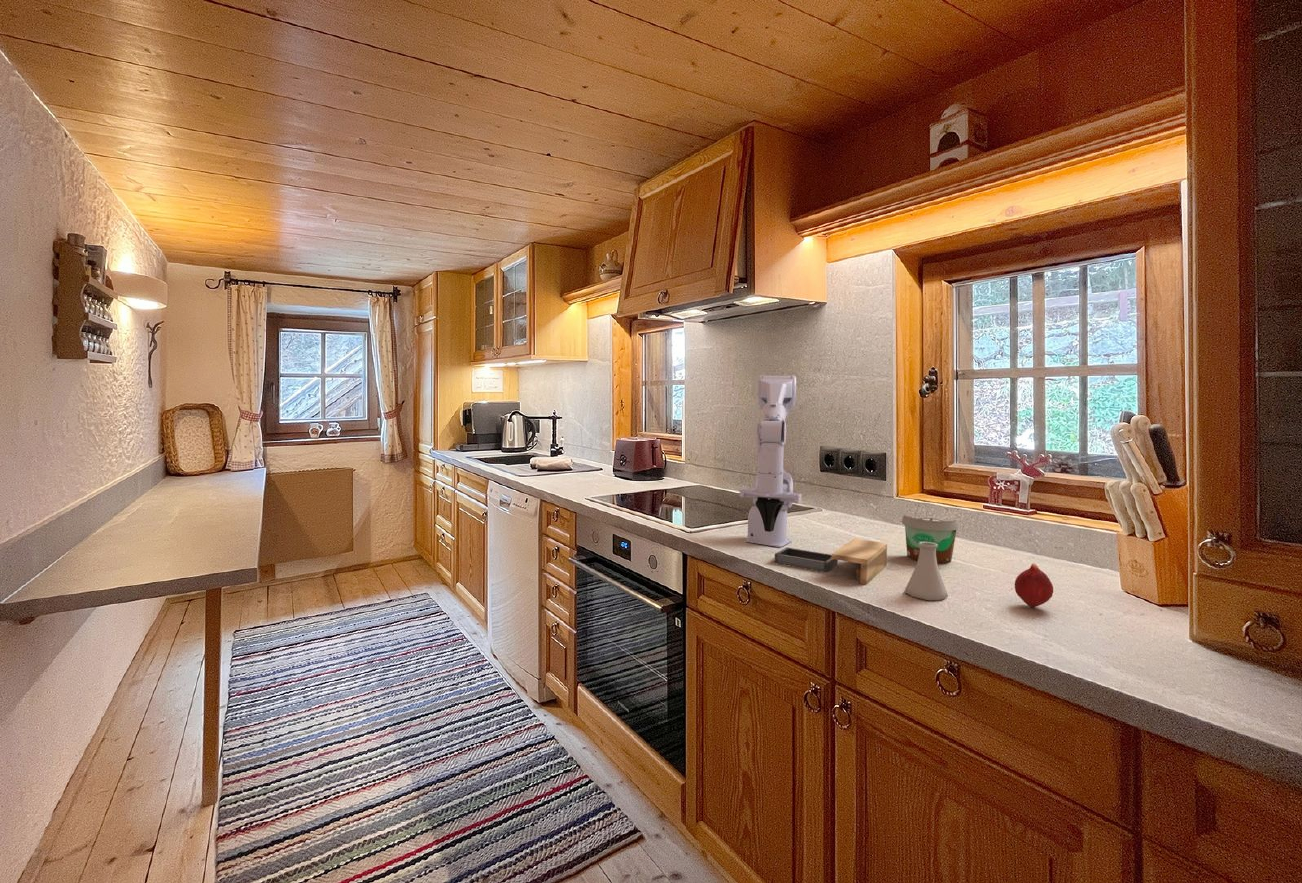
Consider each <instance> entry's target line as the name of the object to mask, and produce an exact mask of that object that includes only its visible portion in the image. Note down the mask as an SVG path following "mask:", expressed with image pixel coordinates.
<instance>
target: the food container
mask: <svg viewBox="0 0 1302 883" xmlns="http://www.w3.org/2000/svg"><path fill="white" fill-rule="evenodd" d="M901 523H902V525H904V531H905V546H906V557H907V558H908V559H909V560H912V561H913V562H914V561H915V562H918V558H919V554H920V546H919V545H918V543H920V542H932V543H935V544H938V547H937V548H936V560H937V565H948V564H950V563H951V562H952V560H953V559H952V558H953V554H954V547H955V541H956V536H957V530H959V529H961V524H960V521H959V518H957V519H955V520H954V519H953V520H941V519H936V518H931V517H923V518H915V517H911V516H908V515H906V514H905V513H904V514H903V516H902V519H901Z"/></svg>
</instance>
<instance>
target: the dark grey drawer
mask: <svg viewBox="0 0 1302 883" xmlns="http://www.w3.org/2000/svg"><path fill="white" fill-rule="evenodd" d="M831 555H832V553H824V552H818V551H817V552H816V551H813V550H807V549H806V550H804V549H799V548H793V547H787V546H786V547H785V548H783V549H781V550H780V551H777V552H775V553H774V564H776V563H777V564H778V565H782V564H785V565H784V566H787V565H790V566H789V567H793V566H794V568H798V567H799V569H800V568H801V569H804V568H807V569H806V570H810V569H813V570H812V571H815V570H817V572H821V571H822V572H821V573H829V572H830V571H832V570H833V569H834V568H835V567H837V566H839V565H838V564H839V563H838V562H839V560H836V559H831ZM777 564H776V565H777ZM832 568H833V569H832ZM831 569H832V570H831Z"/></svg>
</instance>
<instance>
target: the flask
mask: <svg viewBox="0 0 1302 883" xmlns="http://www.w3.org/2000/svg"><path fill="white" fill-rule="evenodd" d="M918 545H919V546H920V554H919V558H918V562H917V561H916V562H917V563H916V565H915V567H914V570H913V572H912V574H911V577H910V578H909V581H908V582H907V584H906V587H905V588H904V591H903V592H904V593H906V594H908V595H910V596H911V597H913V598H918V599H921V600H925V601H941V600H942V601H943V600H945V599H946V598H947V597H949V594H948V591H947V589H946V586H945V583H944V581H943V580H944V579H943V578H942V575H941V572H940V568H939V566H938V565H939V564H937V560H936V548H937V547H938V544H935V543H932V542H920V543H918Z"/></svg>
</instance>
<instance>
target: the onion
mask: <svg viewBox="0 0 1302 883" xmlns="http://www.w3.org/2000/svg"><path fill="white" fill-rule="evenodd" d="M1014 591H1015V593H1016V595H1017V596H1018V597H1019V598H1020V599H1021V601H1023V602H1024V603H1025V605H1027V606H1028V607H1029V608H1037V607H1039V606H1042V605H1044V604H1045V603H1047V602H1048V601H1050V600H1051V598H1052V597H1053V596H1054V595H1053V594H1054V585H1053V583H1052V581H1051V579H1050V578H1049V576H1048V575H1047V574H1046V573H1045V572H1044V571H1043V570H1041V569H1040V568H1039V566H1037V564H1036V563H1035V562H1031V565H1030V567H1029V568H1027V569H1025V570H1023V571H1021V573H1019V574H1018V575H1017V576H1016V578H1015V580H1014Z"/></svg>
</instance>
